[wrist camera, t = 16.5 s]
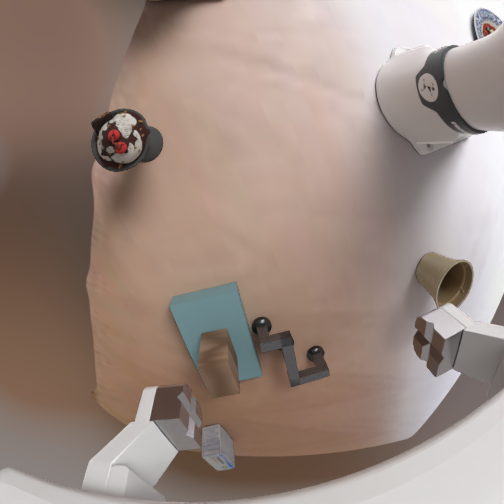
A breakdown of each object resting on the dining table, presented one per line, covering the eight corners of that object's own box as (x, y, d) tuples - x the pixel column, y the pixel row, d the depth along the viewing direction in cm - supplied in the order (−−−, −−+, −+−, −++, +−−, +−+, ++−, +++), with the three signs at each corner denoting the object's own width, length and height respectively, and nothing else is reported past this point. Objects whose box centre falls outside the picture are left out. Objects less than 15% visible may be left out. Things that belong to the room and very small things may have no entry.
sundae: (171, 164, 35) (137, 168, 21) (125, 170, 35) (71, 180, 20) (168, 117, 33) (134, 93, 19) (122, 124, 32) (67, 110, 18)
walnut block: (227, 327, 40) (228, 363, 33) (237, 357, 42) (240, 393, 35) (201, 333, 40) (197, 368, 33) (213, 362, 42) (212, 398, 35)
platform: (236, 281, 41) (236, 290, 38) (260, 364, 47) (262, 375, 44) (172, 296, 41) (169, 306, 38) (206, 375, 47) (206, 387, 44)
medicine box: (201, 426, 52) (200, 457, 44) (220, 422, 52) (220, 454, 44) (216, 442, 55) (216, 471, 47) (233, 439, 55) (235, 468, 46)
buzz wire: (317, 302, 44) (329, 321, 38) (323, 355, 48) (333, 377, 42) (250, 319, 44) (253, 342, 38) (265, 371, 48) (270, 394, 42)
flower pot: (418, 300, 46) (444, 322, 38) (401, 268, 43) (429, 289, 35) (449, 268, 45) (477, 285, 37) (435, 233, 42) (466, 248, 34)
